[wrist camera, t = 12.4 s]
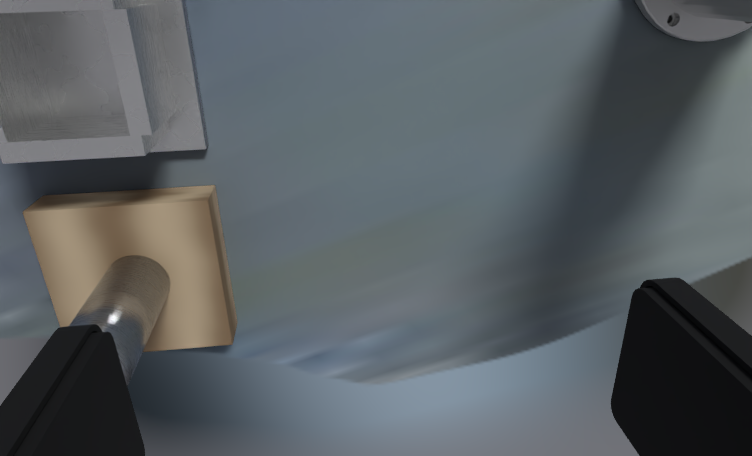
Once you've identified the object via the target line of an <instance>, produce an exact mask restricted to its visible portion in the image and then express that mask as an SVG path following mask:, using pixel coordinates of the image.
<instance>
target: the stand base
mask: <svg viewBox="0 0 752 456" xmlns="http://www.w3.org/2000/svg"><path fill="white" fill-rule="evenodd" d="M207 147H208V139H207V132H206V126H205V120H204V114H203V108H202V102H201V96H200V90H199V83H198V77H197V71H196V65H195V59H194V53H193V47H192V41H191V34H190V28H189V22H188V16H187V10H186V4H185V0H0V157H1V160H2V163H3V164H8V163H25V162H43V161H61V160H79V159H97V158H115V157H133V156H146V155H147V154H148V153H149V152H164V151H182V150H200V149H206V148H207Z"/></svg>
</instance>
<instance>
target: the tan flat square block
mask: <svg viewBox="0 0 752 456" xmlns="http://www.w3.org/2000/svg"><path fill="white" fill-rule="evenodd" d="M23 215H24V218H25V221H26V224H27V227H28V230H29V233H30V236H31V239H32V242H33V245H34V248H35V251H36V254H37V257H38V260H39V263H40V266H41V269H42V272H43V276H44V279H45V282H46V285H47V288H48V291H49V294H50V297H51V300H52V303H53V306H54V309H55V312H56V315H57V318H58V321H59V324H60V327H66V326H69V325H70V323H71V322H72V321H73V319H74V318H75V316H76V315H77V313H78V312H79V310H80V309H81V307H82V306H83V305H84V303H85V302H86V300H87V299H88V297H89V296H90V294H91V293H92V291H93V290H94V288H95V287H96V286H97V284H98V283H99V281H100V280H101V278H102V277H103V275H104V274H105V272H106V271H107V270H108V268H109V267H110V265H111V264H112V263H113V262H114V261H116V260H117V259H119V258H122V257H125V256H129V255H140V256H145V257H148V258H150V259H153V260H154V261H156V262H158V263H159V264H160V265H161V266H162V267H163V268H164V269H165V270H166V272H167V273H168V276H169V278H170V291H169V294H168V296H167V298H166V300H165V303H164V305H163V307H162V309H161V312H160V314H159V316H158V318H157V321H156V323H155V325H154V327H153V330H152V332H151V334H150V337H149V339H148V341H147V343H146V346H145V348H144V350H143V352H150V351H162V350H174V349H186V348H197V347H209V346H221V345H232V344H233V340H234V335H235V331H236V326H237V316H236V310H235V304H234V298H233V292H232V286H231V280H230V273H229V267H228V261H227V255H226V249H225V243H224V237H223V231H222V224H221V218H220V212H219V206H218V200H217V194H216V188H215V185H209V186H192V187H176V188H159V189H143V190H127V191H110V192H94V193H77V194H61V195H45V196H42V197H41V198H39V199H38V200H37V201H36V202H34V203H33V204H32V205H31V206H29V207H28V208H27V209H26V210H24V211H23Z"/></svg>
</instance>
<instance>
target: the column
mask: <svg viewBox="0 0 752 456" xmlns="http://www.w3.org/2000/svg"><path fill="white" fill-rule="evenodd" d="M169 291H170V278H169V276H168V273H167V272H166V270H165V269H164V268H163V267H162V266H161V265H160V264H159V263H158V262H156V261H154V260H153V259H150V258H148V257H145V256H140V255H129V256H125V257H122V258H119V259H117V260H116V261H114V262H113V263H112V264H111V265H110V267H109V268H108V270H107V271H106V272H105V274H104V275H103V277H102V278H101V280H100V281H99V283H98V284H97V286H96V287H95V288H94V290H93V291H92V293H91V294H90V296H89V297H88V299H87V300H86V302H85V303H84V305H83V306H82V307H81V309H80V310H79V312H78V313H77V315H76V316H75V318H74V319H73V321H72V322H71V323H70V325H69V326H79V325H91V324H96V325H98V326H99V327H100V328H101V330H102V332H110V333H111V334H112V336H113V339H114V342H115V345H116V349H117V352H118V356H119V359H120V363H121V366H122V370H123V373H124V377H125V380H126V384H127V386H128V384H129V382H130V380H131V377H132V375H133V373H134V370H135V368H136V366H137V364H138V361H139V359H140V357H141V354H142V352H143V350H144V348H145V346H146V343H147V341H148V339H149V337H150V334H151V332H152V330H153V327H154V325H155V323H156V321H157V318H158V316H159V314H160V312H161V309H162V307H163V305H164V303H165V300H166V298H167V296H168V294H169Z"/></svg>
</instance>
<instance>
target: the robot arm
mask: <svg viewBox="0 0 752 456" xmlns="http://www.w3.org/2000/svg"><path fill="white" fill-rule="evenodd" d="M635 2H636V4H637V5H638V7H639V9H640V10H641V12H642V14H643V15H644V17H645V18H646V19H647V20H648V21H649V22H650V23H651V24H652V25H653V26H654V27H655V28H657V29H659V30H660V31H662V32H664V33H666V34H667V35H669V36H673V37H676V38H679V39H683V40H690V41H697V42H703V41H716V40H720V39H724V38H728V37H732V36H734V35H736V34H738V33H741V32H743V31H745V30H747V29H749V28H750V27H752V0H635ZM668 17H669V19H668ZM667 20H668V21H667ZM611 409H612V413H613V416H614V418H615V420H616V422H617V423H618V425H619V426H620V428H621V429H622V430H623V432H624V433H625V435H626V436H627V438H628V439H629V441H630V442H631V444H632V445H633V447H634V448H635V449H636V451H637V453H638V454H639V455H640V456H752V336H751V335H750V334H748V333H747V332H746V331H745V330H744V329H742V328H741V327H740V326H738V325H737V324H736V323H735V322H734V321H733V320H731V319H730V318H729V317H728V316H726V315H725V314H724V313H723V312H722V311H720V310H719V309H718V308H717V307H715V306H714V305H713V304H712V303H711V302H709V301H708V300H707V299H706V298H704V297H703V296H702V295H701V294H700V293H698V292H697V291H696V290H695V289H693V288H692V287H691V286H690V285H689V284H687V283H686V282H685V281H684V280H682V279H680V278H665V279H653V280H646V281H644V282H643V283H642V285H641V287H640V288H638V289H636V290H635V291H634V292H633V295H632V299H631V304H630V309H629V314H628V319H627V324H626V329H625V334H624V339H623V344H622V348H621V354H620V358H619V363H618V368H617V373H616V379H615V383H614V388H613V393H612V398H611ZM0 456H145V449H144V444H143V440H142V437H141V434H140V430H139V427H138V423H137V420H136V416H135V412H134V409H133V405H132V402H131V398H130V395H129V391H128V388H127V384H126V380H125V377H124V373H123V370H122V366H121V363H120V359H119V356H118V352H117V349H116V345H115V342H114V339H113V336H112V334H111V333H110V332H102V330H101V328H100V327H99V326H98V325H96V324H91V325H79V326H66V327H60V328H58V329H57V330H56V331H55V332H54V333H53V335H52V336H51V338H50V339H49V340H48V342H47V343H46V345H45V346H44V347H43V348H42V350H41V351H40V352H39V354H38V355H37V357H36V358H35V359H34V361H33V362H32V363H31V365H30V366H29V368H28V369H27V370H26V372H25V373H24V374H23V376H22V377H21V378H20V380H19V381H18V383H17V384H16V385H15V386H14V388H13V389H12V391H11V392H10V394H9V395H8V396H7V397H6V399H5V400H4V401H3V403H2V404H1V406H0Z"/></svg>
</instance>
